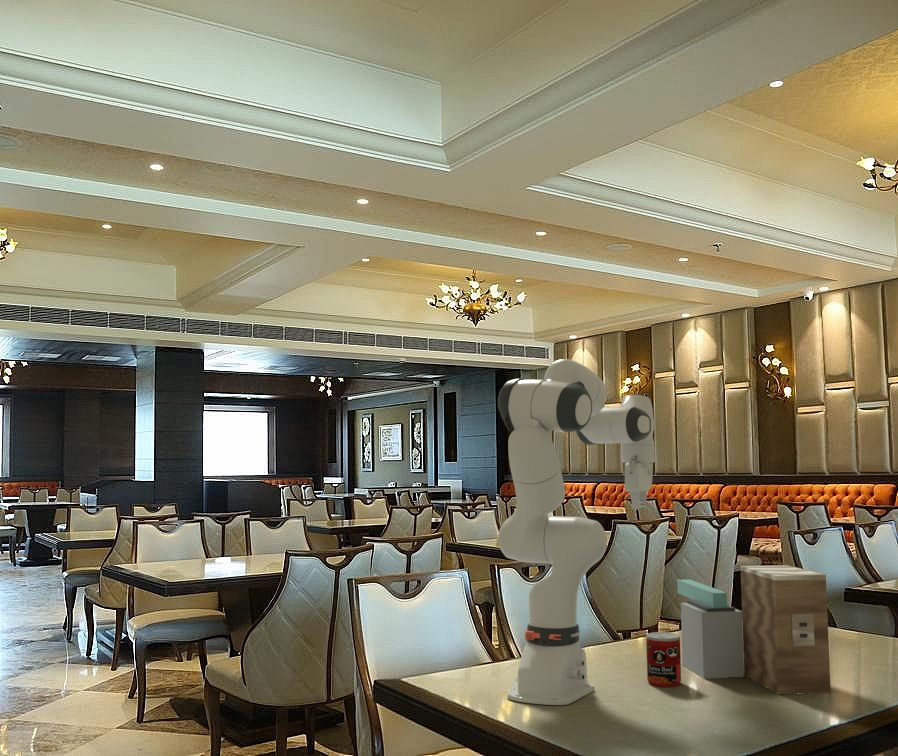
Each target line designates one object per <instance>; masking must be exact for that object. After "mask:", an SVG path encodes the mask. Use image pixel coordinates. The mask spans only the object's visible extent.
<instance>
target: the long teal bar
mask: <svg viewBox="0 0 898 756" xmlns="http://www.w3.org/2000/svg"><path fill="white" fill-rule="evenodd" d="M676 585H677V594H679V595H682V596H683V597H686V598H689V599H690V600H696V601H698V602H700V603H703V604H705V605H707V606H710V607H712V608H727V605H728V592H725V591H722V590H720V589H717V588H714V587H712V586H709V585H706V584H703V583H700V582H698V581H696V580H693V579H677V584H676Z"/></svg>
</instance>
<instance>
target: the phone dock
mask: <svg viewBox="0 0 898 756" xmlns="http://www.w3.org/2000/svg"><path fill="white" fill-rule="evenodd" d="M680 621H681V623H680V625H681V626H680V627H681V650H682V651H681V653H682V654H681V658H682V662H681V663H682V664H681V665H682V666H683V667H685V668H686V669H688V670H689V671H691V672H693V673H694V674H696V675H697V676H699V677H700V678H702V679H705V680H706V679H707V680H708V679H711V680H712V679H729V678H728V677H744V678H745V675H744V652H743V622H742V610H739V609H737V608H736V607H733V606H732V605H729V604H727V608H712V607H710V606H707V605H705V604H703V603H700V602H698V601H696V600H693V599H686V602H680Z"/></svg>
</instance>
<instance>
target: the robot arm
mask: <svg viewBox="0 0 898 756" xmlns="http://www.w3.org/2000/svg"><path fill="white" fill-rule="evenodd" d="M543 377H544V378H543V379H531V378H530V379H526V378H514V379H511V380H507V381H506V382H505V383H504V385H503V386H502V388H501V389H500V391H499V392H498V393H499V394H498V398H497V406H498V407H497V408H498V411H499V413H500V417H501V418H502V421H503V422H504V425H505V426H506V427H505V428H507V429H508V430H509V431H510V432H511V433H510V435H509V436H508V444H507V445H508V446H507V447H508V449H507V450H508V462H509V468H510V472H511V479H512V482H513V485H514V486H513V487H514V492H515V497H516V499H515V500H516V506H515V509H514V512H513V513H512V515H511V516H509V517H507V518H506V520H504V522H503V523H502V524H501V526H500V527H499V532H498V537H497V538H498V539H497V540H498V546H499V549H500V550H501V552H502V554H503V555H504V556H505V558H507V559H509V560H512V561H513V560H514V561H518V562H522V563H530V564H531V563H532V564H550V565H552V567H551V573H550V575H549V576H547V577H545V578H543V579H541V580H539V581H538V582H537V581H536V583H534V585H532V587H531V588H530V590H529V593H528V624H527V628H526V630H525V633H524V639H525V641H526V644H525V645H524V646H523V650H522V654H521V657H520V661H519V665H518V668H517V669H518V670H517V677H516V678H514V680H513V682H512V684H511V687H510V689H509V691H508V693H507V699H508V700H512V701H514V702H518V703H525V704H526V703H527V704H535V705H546V706H567V705H570V704H571V703H575V702H576V701H578V700H579V699H581V698H584V697H585V696H586V695H588V694H591V693H593V692H595V685H594V684H593V683H590V682H588V681H589V680H588V666H587V653H586V650H584V649H583V648H582V647H581V645H580V642H579V641H580V625H579V624H578V621H577V620H578V597H579V589H580V585H581V584H582V580H583V578H584V576H586V574H587V572H588V571H589V570H590V569H591V568H592V567H593V566H594V565H595V564H596V563H598V562H599V561H601V559H602V558H603V557H604V554H605V552H606V550H607V545H608V538H607V534H606V531H605V529H604V527H603V526H602V524H601V523H600V522H599V521H598V520H595V519H590V518H586V517H581V516H562V515H559V516H558V515H549V514H551V513H552V512H554V511H555V510H556V509H558V508H559V507H560V506H561V505H562V504H563V502H564V499H565V497H566V496H565V495H566V487H565V481H564V479H563V473H562V469H561V464H560V463H561V462H560V459H559V457H558V456H559V455H558V453H557V450H556V448H555V445H554V442H553V439H552V432H553V431H556V432H557V431H559V432H560V431H563V432H565V433H573V432H575V434H576V436H577V437H578V439H579V440H580V441H581V442H582V443H583V444H585V445H586V446H594V445H599V444H600V445H601V444H602V445H603V444H605V445H606V444H607V445H609V444H620V462H621V463H625V468H624V490H625V492H626V493H629V496H630V497H629V498H630V500H631V501H630V502H631V509H632V510H639V509H640V508H646V506H647V497H648V491H650V490H651V489H652V485H653V476H654V475H653V471H654V467H653V466H654V463H655V462H656V456H655V455H656V449H655V447H656V446H655V441H654V436H653V435H654V432H655V431H654V430H655V422H654V420H655V419H654V411H653V410H654V409H653V405H652V401H651V398H650V397H648V396H646V395H642V394H628V395H627V394H626V395H624V396H623V397H622V399H621V404H620V405H619V406H605V405H606V401H607V397H608V396H607V395H608V393H607V391H608V390H607V387H606V385H605V383H604V381H603V380H602V379H601V377H600V376H599V375H597V374H596V373H595V372H594V371H592V370H591V369H590V368H588V367H587V366H585V365H584V364H581V363H580V362H577V361H574V360H572V359H568V358H561V359H558V360H555V361H554V362H552V363H551V364H549V366H548V367H547V369H546V371H545V373H544V376H543Z"/></svg>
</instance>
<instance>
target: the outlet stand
mask: <svg viewBox="0 0 898 756" xmlns="http://www.w3.org/2000/svg"><path fill="white" fill-rule="evenodd" d="M740 579H741V580H740V585H741V586H740V588H741V589H740V590H741V611H742V627H743V657H744V676H745V675H746V676H748V677H750V678H751V679H750V678H749V679H750V680H752V679H753V680H752V681H754V680H755V681H757V682H759V683H760V685H761V684H762V685H764V686H766V687H768V688H769V689H768V688H767V689H768V690H770V689H771V690H773V691H775V692H777V693H779V694H794V695H798V694H797V693H823V694H831V692H832V691H831V690H832V688H831V666H830V665H831V663H830V662H831V661H830V643H829V642H830V639H829V619H828V618H829V617H828V614H829V613H828V596H827V594H828V593H827V575H826V574H823V573H820V572H815V571H812V570H808V569H804V568H800V567H796V566H791V565H786V564H785V565H782V564H781V565H780V564H779V565H740ZM746 676H745V677H746ZM748 677H747V678H748ZM755 681H754V682H755ZM757 682H756V683H757ZM759 683H758V684H759ZM762 685H761V686H762ZM764 686H763V687H764ZM766 687H765V688H766ZM771 690H770V691H771ZM773 691H772V692H773ZM775 692H774V693H775ZM777 693H776V694H777Z"/></svg>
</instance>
